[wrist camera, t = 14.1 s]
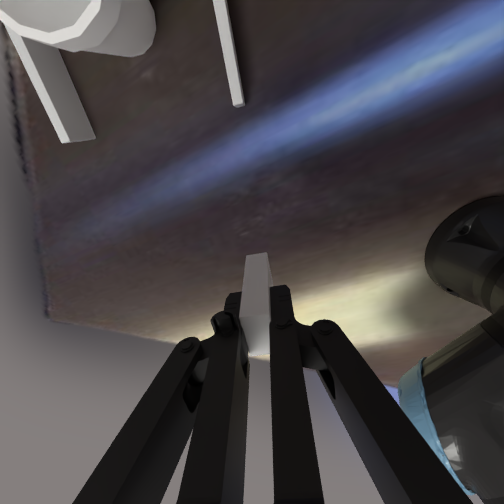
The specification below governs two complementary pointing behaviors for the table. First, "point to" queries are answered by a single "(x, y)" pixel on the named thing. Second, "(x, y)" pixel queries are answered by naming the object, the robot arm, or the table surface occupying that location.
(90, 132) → the box
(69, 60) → the table surface
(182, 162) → the table surface
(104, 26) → the foam cup
